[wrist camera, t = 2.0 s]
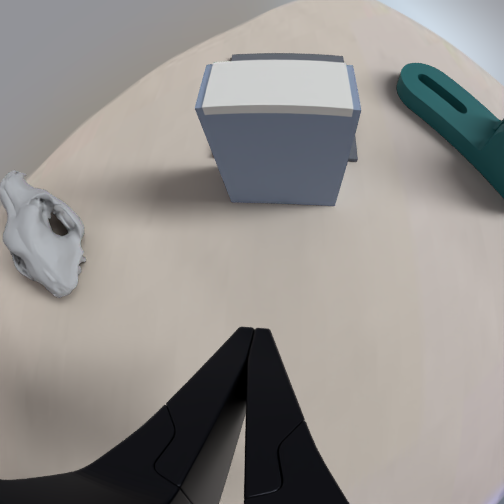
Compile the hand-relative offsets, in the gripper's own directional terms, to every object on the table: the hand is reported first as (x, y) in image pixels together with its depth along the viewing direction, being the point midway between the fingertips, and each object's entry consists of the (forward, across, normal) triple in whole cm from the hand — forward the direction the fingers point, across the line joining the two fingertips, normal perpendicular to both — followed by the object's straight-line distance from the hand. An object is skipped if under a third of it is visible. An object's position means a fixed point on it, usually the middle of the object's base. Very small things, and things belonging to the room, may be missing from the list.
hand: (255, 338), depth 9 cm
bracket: (+24, -19, -4) cm, 31 cm away
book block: (+18, 0, +1) cm, 18 cm away
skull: (+14, +20, +5) cm, 25 cm away
